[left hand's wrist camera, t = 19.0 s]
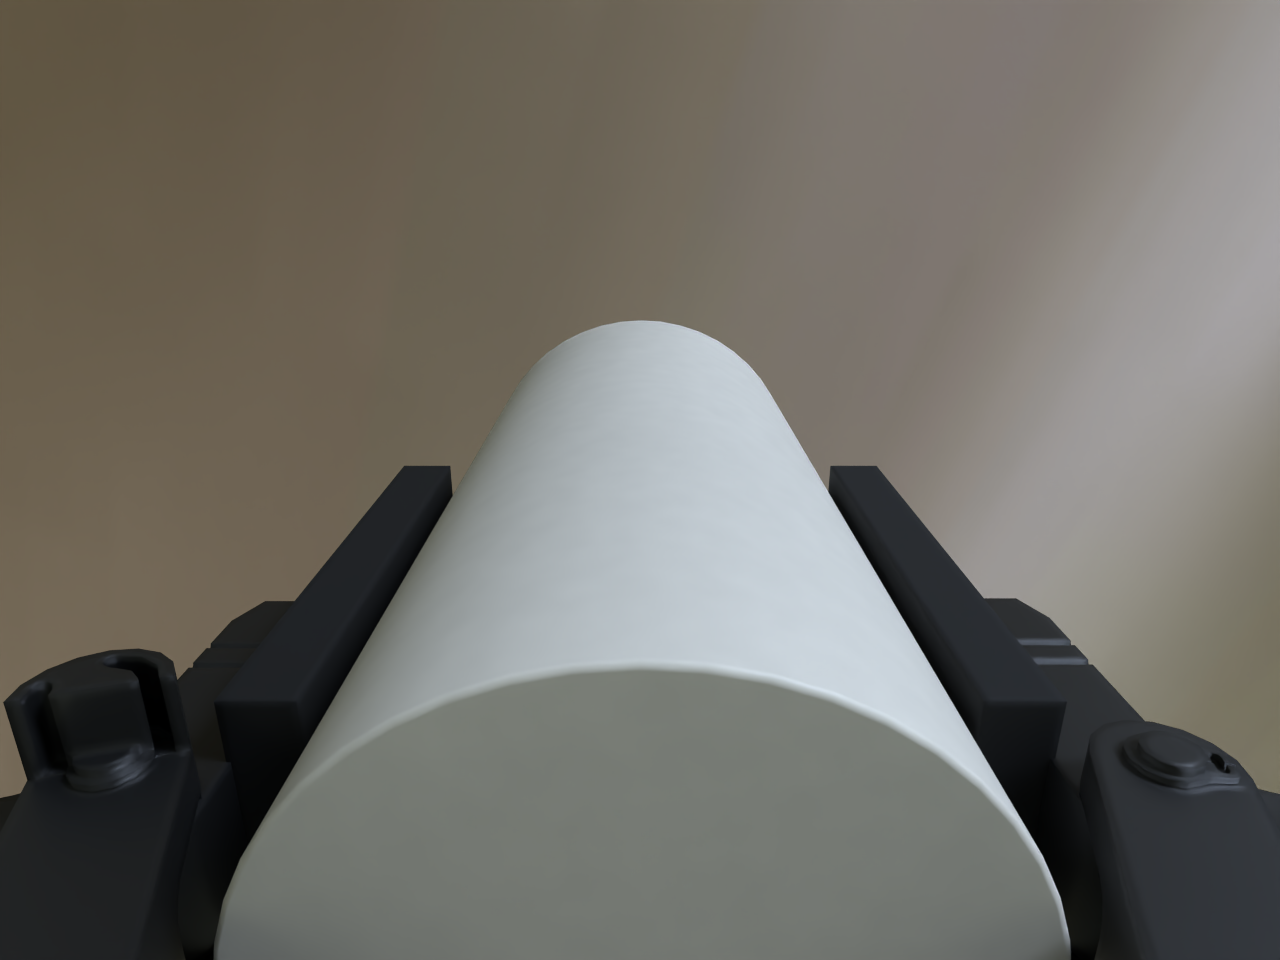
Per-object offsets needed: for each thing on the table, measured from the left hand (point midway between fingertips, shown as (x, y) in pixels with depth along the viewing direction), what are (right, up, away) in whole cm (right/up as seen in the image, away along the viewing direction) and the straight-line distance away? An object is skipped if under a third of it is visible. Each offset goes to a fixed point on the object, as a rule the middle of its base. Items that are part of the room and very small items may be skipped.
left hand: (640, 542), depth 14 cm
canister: (0, +1, +4) cm, 4 cm away
